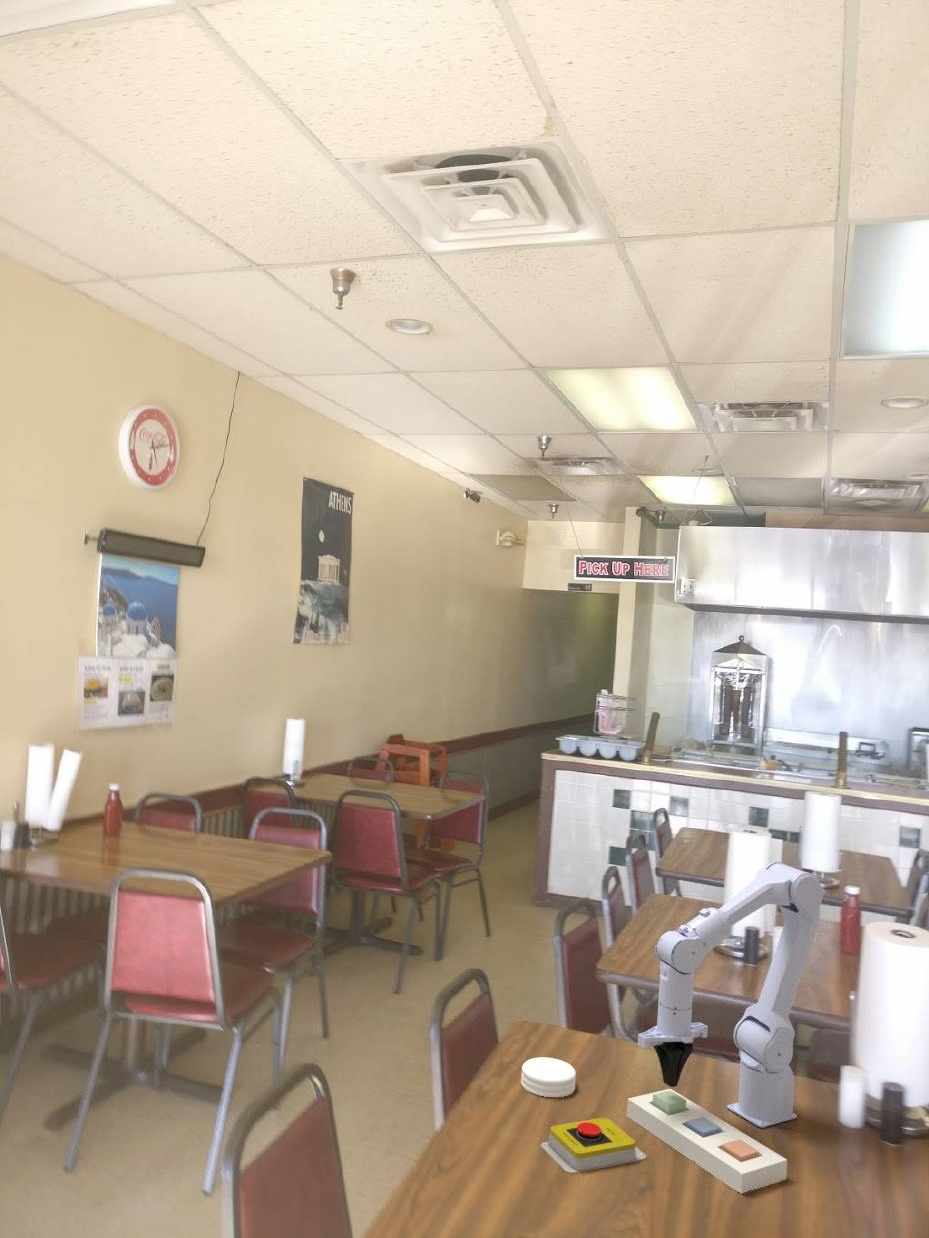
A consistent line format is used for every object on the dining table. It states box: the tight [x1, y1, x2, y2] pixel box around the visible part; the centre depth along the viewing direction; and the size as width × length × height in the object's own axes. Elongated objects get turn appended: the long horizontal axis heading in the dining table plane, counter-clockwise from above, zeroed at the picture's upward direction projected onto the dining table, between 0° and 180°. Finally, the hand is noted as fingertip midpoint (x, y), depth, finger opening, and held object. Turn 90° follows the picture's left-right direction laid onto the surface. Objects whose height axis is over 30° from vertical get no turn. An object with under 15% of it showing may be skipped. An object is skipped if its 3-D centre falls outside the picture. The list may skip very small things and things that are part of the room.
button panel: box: [626, 1088, 788, 1195], centre depth 156 cm, size 10×26×3 cm, turn 31°
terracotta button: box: [722, 1139, 759, 1162], centre depth 149 cm, size 4×4×3 cm
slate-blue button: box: [685, 1117, 721, 1138], centre depth 156 cm, size 4×4×3 cm
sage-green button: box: [652, 1090, 686, 1115], centre depth 163 cm, size 4×4×3 cm
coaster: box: [520, 1056, 577, 1098], centre depth 174 cm, size 10×10×4 cm
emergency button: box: [540, 1117, 647, 1174], centre depth 152 cm, size 9×4×15 cm
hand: (670, 1083), depth 163 cm, fingers closed
